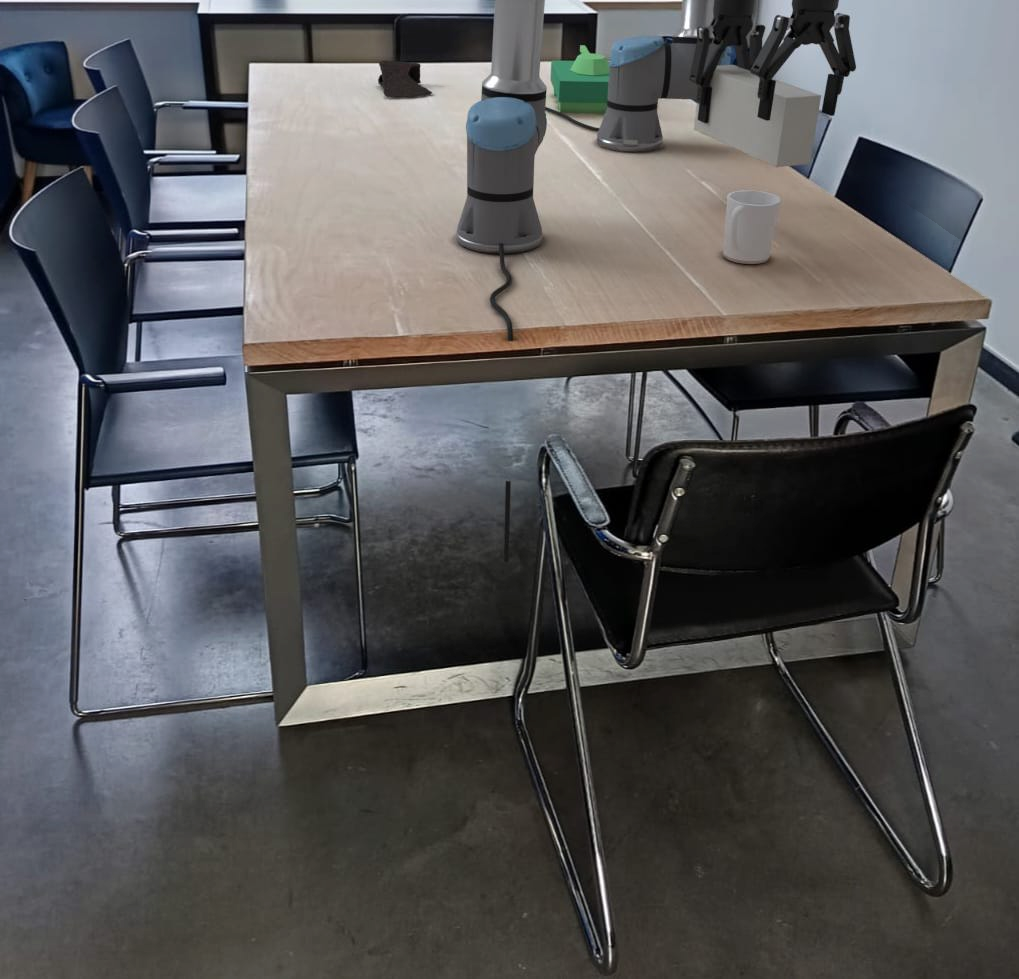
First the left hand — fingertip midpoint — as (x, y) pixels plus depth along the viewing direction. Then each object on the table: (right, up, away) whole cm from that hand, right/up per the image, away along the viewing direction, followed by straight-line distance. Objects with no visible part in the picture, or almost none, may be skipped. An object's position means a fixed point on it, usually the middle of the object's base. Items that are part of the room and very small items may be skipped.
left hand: (796, 116), depth 191 cm
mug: (-9, -25, -1) cm, 27 cm away
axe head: (-79, +44, +109) cm, 142 cm away
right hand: (-9, +7, +21) cm, 24 cm away
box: (-5, -1, +15) cm, 15 cm away
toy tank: (-30, +39, +103) cm, 114 cm away
